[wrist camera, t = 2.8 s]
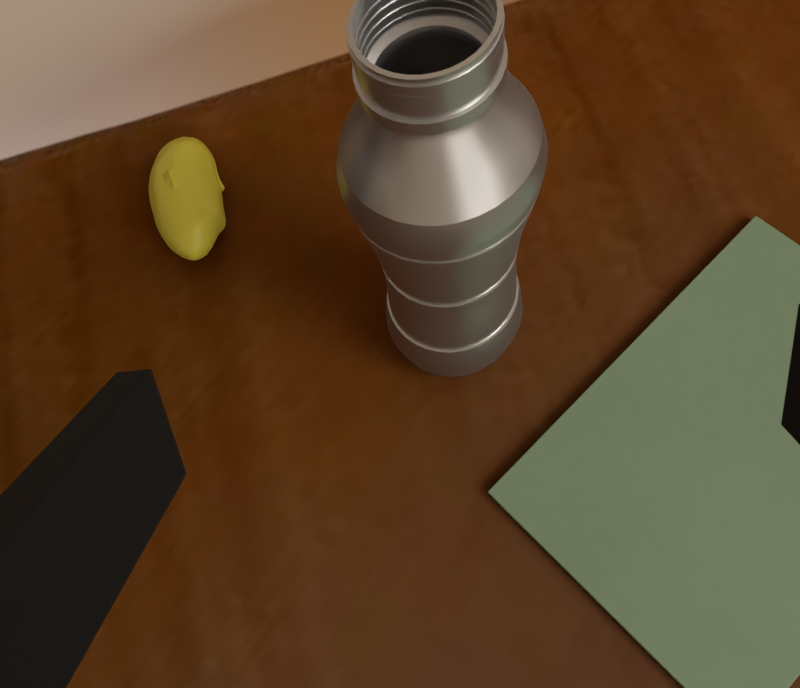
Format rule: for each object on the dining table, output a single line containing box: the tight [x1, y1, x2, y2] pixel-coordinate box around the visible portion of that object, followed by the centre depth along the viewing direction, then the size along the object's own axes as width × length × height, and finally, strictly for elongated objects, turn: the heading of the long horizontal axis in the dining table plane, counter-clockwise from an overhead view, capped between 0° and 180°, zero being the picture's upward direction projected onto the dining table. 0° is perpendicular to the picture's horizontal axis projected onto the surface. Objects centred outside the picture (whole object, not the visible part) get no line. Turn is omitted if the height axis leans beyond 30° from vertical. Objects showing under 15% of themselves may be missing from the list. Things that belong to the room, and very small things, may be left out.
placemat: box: [488, 216, 800, 688], centre depth 29 cm, size 14×20×1 cm
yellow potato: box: [149, 137, 226, 260], centre depth 36 cm, size 4×8×4 cm, turn 7°
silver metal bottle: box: [337, 0, 548, 377], centre depth 24 cm, size 6×7×20 cm
